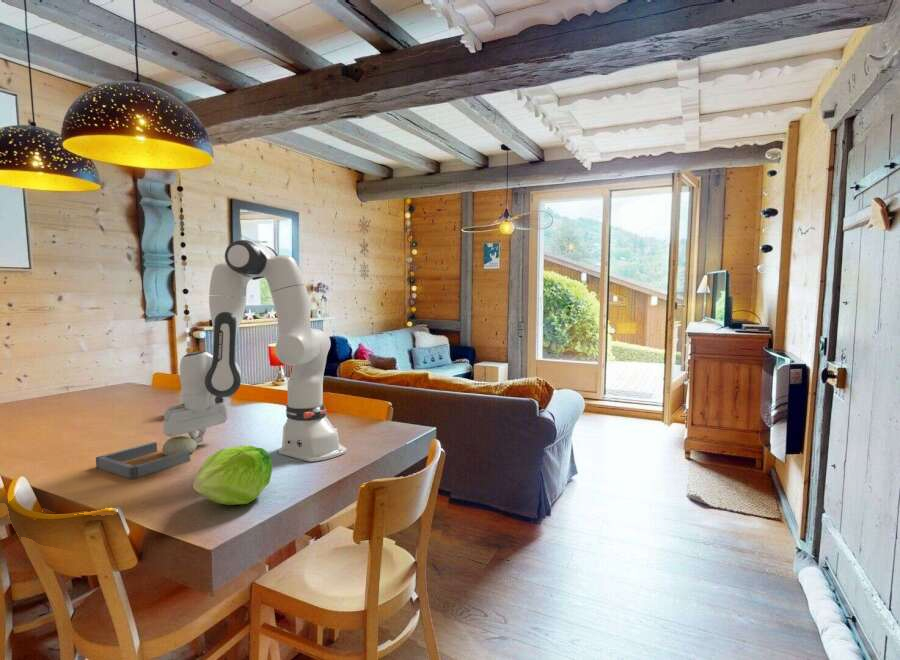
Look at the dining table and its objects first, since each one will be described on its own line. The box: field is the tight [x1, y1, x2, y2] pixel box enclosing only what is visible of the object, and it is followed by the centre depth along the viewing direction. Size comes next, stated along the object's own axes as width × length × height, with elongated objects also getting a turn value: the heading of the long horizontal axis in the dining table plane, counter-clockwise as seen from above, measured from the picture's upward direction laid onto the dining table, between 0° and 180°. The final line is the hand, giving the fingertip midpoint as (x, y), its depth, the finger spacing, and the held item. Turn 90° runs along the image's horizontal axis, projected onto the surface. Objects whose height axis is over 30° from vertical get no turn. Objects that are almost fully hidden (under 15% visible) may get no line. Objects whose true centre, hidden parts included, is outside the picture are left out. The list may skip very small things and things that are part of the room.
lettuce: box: [192, 445, 273, 506], centre depth 114 cm, size 15×20×14 cm
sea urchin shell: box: [161, 435, 198, 457], centre depth 149 cm, size 9×8×8 cm
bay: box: [95, 441, 191, 480], centre depth 139 cm, size 16×18×3 cm
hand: (197, 442), depth 154 cm, fingers closed
